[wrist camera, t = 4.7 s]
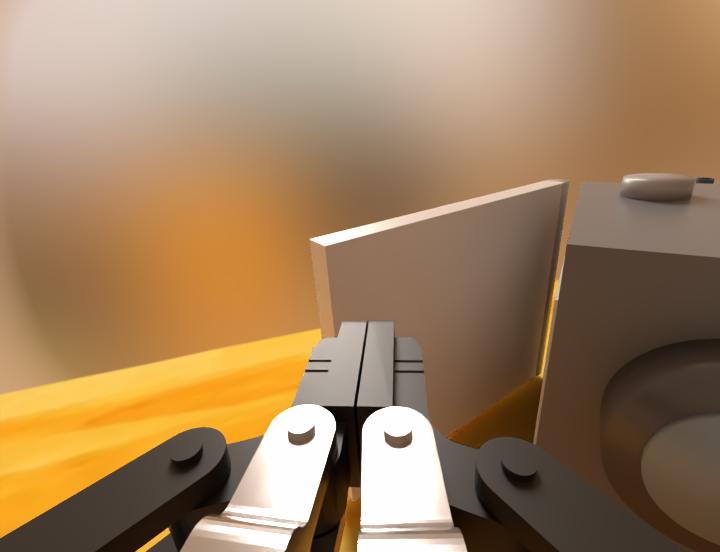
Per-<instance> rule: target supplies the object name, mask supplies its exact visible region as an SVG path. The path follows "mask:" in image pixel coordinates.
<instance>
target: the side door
mask: <svg viewBox="0 0 720 552" xmlns="http://www.w3.org/2000/svg"><path fill="white" fill-rule="evenodd" d="M568 188H569V181H568V180H560V179H559V180H557V179H553V180H544V181H542V182H538V183H534V184H531V185H526V186H522V187H518V188H514V189H510V190H506V191H502V192H498V193H494V194H490V195H486V196H482V197H478V198H474V199H470V200H466V201H462V202H457V203H453V204H450V205H445V206H441V207H438V208H433V209H429V210H425V211H421V212H417V213H414V214H409V215H406V216H401V217H397V218H393V219H389V220H385V221H381V222H377V223H373V224H369V225H365V226H361V227H357V228H353V229H349V230H345V231H341V232H337V233H332V234H329V235H324V236H320V237H316V238H312V239H310V247H311V255H312V262H313V271H314V279H315V286H316V294H317V303H318V310H319V318H320V327H321V334H322V339H324V338H338V334H339V331H340V327H341V324H342V321H368V325H369V321H375V320H394V329H395V338H414V339H415V341H416V342H417V343H418V344H419V346H420V347H421V348H422V357H423V367H424V376H425V386H426V395H427V404H428V414H429V418H430V421H431V423H432V424H433V426H434V427H435V428H436V430H437V431H438V432H439V433H441V434H442V435H443V436H444V437H448V436H449V435H451V434H452V433H454V432H455V431H457V430H458V429H459V428H461V427H462V426H464V425H465V424H467V423H468V422H469V421H471V420H472V419H474V418H475V417H477V416H478V415H480V414H481V413H482V412H484V411H485V410H487V409H488V408H490V407H491V406H493V405H494V404H495V403H497V402H498V401H500V400H501V399H503V398H504V397H505V396H507V395H508V394H510V393H511V392H513V391H514V390H516V389H517V388H518V387H520V386H521V385H523V384H524V383H526V382H527V381H529V380H530V379H531V378H533V377H534V376H537V375H539V374H541V370H542V364H543V357H544V350H545V343H546V337H547V330H548V323H549V316H550V310H551V303H552V296H553V289H554V283H555V276H556V269H557V262H558V256H559V249H560V242H561V235H562V229H563V222H564V215H565V208H566V202H567V195H568ZM348 496H349V497H350V499H351V500H352V502H354V501H356V500H357V499H359V498H360V497H361V496H362V475H361V485H360V487H349V490H348Z"/></svg>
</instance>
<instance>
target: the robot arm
mask: <svg viewBox="0 0 720 552" xmlns="http://www.w3.org/2000/svg"><path fill="white" fill-rule="evenodd" d="M361 475H362V500H361V529H359V534H358V552H686V551H685V550H684V549H682V548H681V547H679V546H678V545H677V544H675V543H674V542H672V541H671V540H670V539H668V538H667V537H665V536H664V535H662V534H661V533H660V532H658V531H657V530H655V529H654V528H653V527H651V526H650V525H648V524H647V523H646V522H644V521H643V520H641V519H640V518H639V517H637V516H636V515H634V514H633V513H632V512H630V511H629V510H627V509H626V508H624V507H623V506H622V505H620V504H619V503H617V502H616V501H615V500H613V499H612V498H610V497H609V496H608V495H606V494H605V493H603V492H602V491H601V490H599V489H598V488H596V487H595V486H594V485H592V484H591V483H589V482H588V481H586V480H585V479H584V478H582V477H581V476H579V475H578V474H577V473H575V472H574V471H572V470H571V469H570V468H568V467H567V466H565V465H564V464H563V463H561V462H560V461H558V460H557V459H556V458H554V457H553V456H551V455H550V454H548V453H547V452H546V451H544V450H543V449H541V448H540V447H538V446H537V445H535V444H533V443H531V442H528V441H526V440H523V439H519V438H514V437H498V438H494V439H491V440H489V441H487V442H485V443H484V444H483V445H482V446H481V447H480V449H479V450H478V449H474V448H471V447H468V446H464V445H461V444H458V443H456V442H453V441H451V440H449V439H448V438H446V437H444V436H443V435H442V434H441V433H439V432H438V431H437V430H436V428H435V427H434V426H433V424H432V423H431V421H430V418H429V414H428V404H427V395H426V386H425V376H424V367H423V357H422V348H421V347H420V346H419V344H418V343H417V342H416V341H415V339H414V338H395V329H394V320H375V321H369V325H368V321H342V324H341V327H340V331H339V334H338V338H324V339H322V340H321V341H320V342H319V343H318V344H317V345H316V346H315V347H314V348H313V351H312V353H311V356H310V359H309V362H308V364H307V367H306V369H305V372H304V375H303V377H302V380H301V383H300V385H299V388H298V391H297V394H296V396H295V399H294V402H293V404H292V407H291V408H290V409H288V410H286V411H284V412H282V413H281V414H279V415H278V416H277V417H276V418H275V419H274V420H273V421H272V423H271V424H270V426H269V428H268V430H267V432H266V433H265V434H264V435H262V436H259V437H256V438H253V439H249V440H244V441H240V442H236V443H232V444H226V440H225V438H224V436H223V434H222V433H221V432H219V431H218V430H216V429H213V428H207V427H201V428H194V429H190V430H187V431H184V432H182V433H179V434H178V435H176V436H174V437H172V438H170V439H169V440H167V441H165V442H164V443H162V444H160V445H158V446H157V447H155V448H153V449H152V450H150V451H148V452H147V453H145V454H143V455H141V456H140V457H138V458H136V459H135V460H133V461H131V462H130V463H128V464H126V465H124V466H123V467H121V468H119V469H118V470H116V471H114V472H113V473H111V474H109V475H107V476H106V477H104V478H102V479H101V480H99V481H97V482H96V483H94V484H92V485H90V486H89V487H87V488H85V489H84V490H82V491H80V492H79V493H77V494H75V495H73V496H72V497H70V498H68V499H67V500H65V501H63V502H61V503H60V504H58V505H56V506H55V507H53V508H51V509H50V510H48V511H46V512H44V513H43V514H41V515H39V516H38V517H36V518H34V519H33V520H31V521H29V522H27V523H26V524H24V525H22V526H21V527H19V528H17V529H16V530H14V531H12V532H10V533H9V534H7V535H5V536H4V537H2V538H0V552H135V551H137V550H138V549H139V548H141V547H142V546H143V545H145V544H146V543H147V542H149V541H150V540H152V539H153V538H154V537H156V536H157V535H158V534H160V533H161V532H162V531H164V530H165V529H166V528H169V531H170V534H169V535H167V536H166V537H165V538H163V539H162V540H161V541H159V542H158V543H157V544H155V545H154V546H153V547H151V548H150V549H149V550H147V551H146V552H339V551H340V546H341V541H342V536H343V531H344V527H345V520H346V519H345V509H346V505H347V497H348V490H349V487H360V485H361Z"/></svg>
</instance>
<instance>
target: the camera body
mask: <svg viewBox="0 0 720 552" xmlns="http://www.w3.org/2000/svg"><path fill="white" fill-rule="evenodd" d="M695 182H696V178H695V177H692V176H687V175H679V174H663V173H661V174H660V173H648V174H647V173H646V174H631V175H626V176H624V177H623V181H622V182H581V186H580V190H579V194H578V199H577V203H576V207H575V212H574V216H573V220H572V224H571V229H570V233H569V237H568V242H567V247H566V253H565V258H564V263H563V266H562V271H561V275H560V280H559V284H558V288H557V293H556V297H555V302H554V309H553V316H552V322H551V329H550V335H549V342H548V349H547V355H546V362H545V368H544V375H543V382H542V388H541V395H540V401H539V408H538V415H537V421H536V428H535V434H534V441H533V444H535V445H537V446H538V447H540V448H541V449H543V450H544V451H546V452H547V453H548V454H550V455H551V456H553V457H554V458H556V459H557V460H558V461H560V462H561V463H563V464H564V465H565V466H567V467H568V468H570V469H571V470H572V471H574V472H575V473H577V474H578V475H579V476H581V477H582V478H584V479H585V480H586V481H588V482H589V483H591V484H592V485H594V486H595V487H596V488H598V489H599V490H601V491H602V492H603V493H605V494H606V495H608V496H609V497H610V498H612V499H613V500H615V501H616V502H617V503H619V504H620V505H622V506H623V507H624V508H626V509H627V510H629V511H630V512H632V513H633V514H634V515H636V516H637V517H639V518H640V519H641V520H643V521H644V522H646V523H647V524H648V525H650V526H651V527H653V528H654V529H655V530H657V531H658V532H660V533H661V534H662V535H664V536H665V537H667V538H668V539H670V540H671V541H672V542H674V543H675V544H677V545H678V546H679V547H681V548H682V549H684V550H685V551H686V552H720V184H703V183H695Z"/></svg>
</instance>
